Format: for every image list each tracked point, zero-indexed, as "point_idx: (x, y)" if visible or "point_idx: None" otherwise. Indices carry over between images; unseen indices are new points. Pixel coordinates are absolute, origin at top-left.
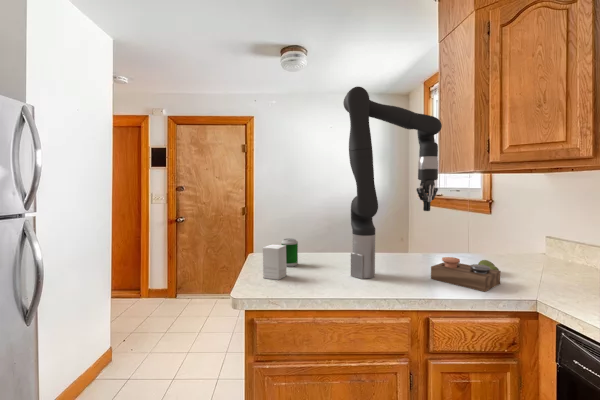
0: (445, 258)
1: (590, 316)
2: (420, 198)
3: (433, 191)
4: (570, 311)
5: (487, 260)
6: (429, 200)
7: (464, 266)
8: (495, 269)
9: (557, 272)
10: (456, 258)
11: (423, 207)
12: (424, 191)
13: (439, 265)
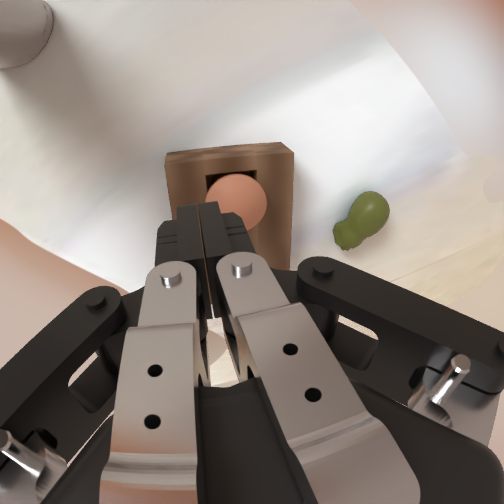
0: (226, 191)
1: (214, 383)
2: (69, 318)
3: (410, 390)
4: (212, 371)
5: (382, 221)
6: (206, 338)
7: (260, 223)
8: (345, 246)
9: (435, 279)
10: (259, 213)
11: (157, 234)
12: (65, 463)
13: (203, 172)
